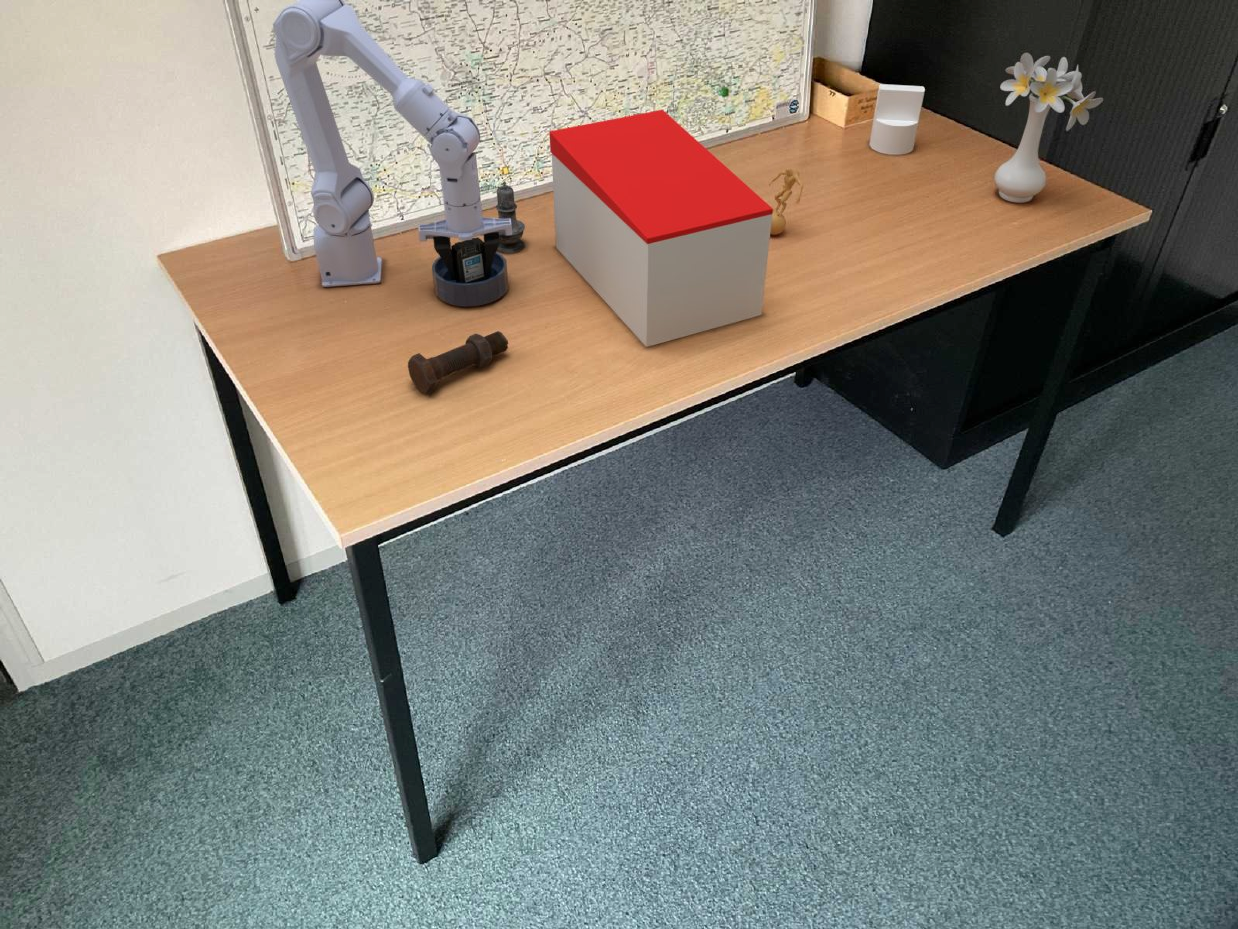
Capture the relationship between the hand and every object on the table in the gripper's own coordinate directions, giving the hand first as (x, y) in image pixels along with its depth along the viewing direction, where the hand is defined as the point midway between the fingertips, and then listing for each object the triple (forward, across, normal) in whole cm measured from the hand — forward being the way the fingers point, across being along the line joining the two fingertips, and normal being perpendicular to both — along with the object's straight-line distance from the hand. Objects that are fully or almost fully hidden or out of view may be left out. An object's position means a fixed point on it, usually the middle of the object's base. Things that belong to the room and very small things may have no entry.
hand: (470, 276), depth 164 cm
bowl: (+2, 0, 0) cm, 2 cm away
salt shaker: (+3, +7, +14) cm, 16 cm away
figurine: (+3, +55, +12) cm, 56 cm away
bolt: (+3, -2, -23) cm, 23 cm away
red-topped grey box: (+3, +30, -1) cm, 30 cm away
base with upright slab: (+3, +88, +45) cm, 99 cm away
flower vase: (+3, +104, +19) cm, 106 cm away
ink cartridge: (+2, 0, 0) cm, 2 cm away
